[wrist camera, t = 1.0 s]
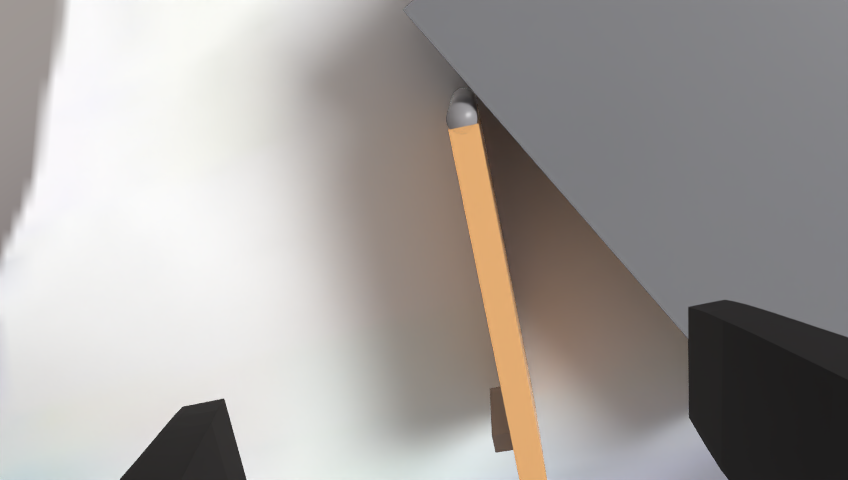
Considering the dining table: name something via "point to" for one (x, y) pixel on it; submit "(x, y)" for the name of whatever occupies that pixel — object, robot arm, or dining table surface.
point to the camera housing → (680, 135)
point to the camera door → (495, 291)
